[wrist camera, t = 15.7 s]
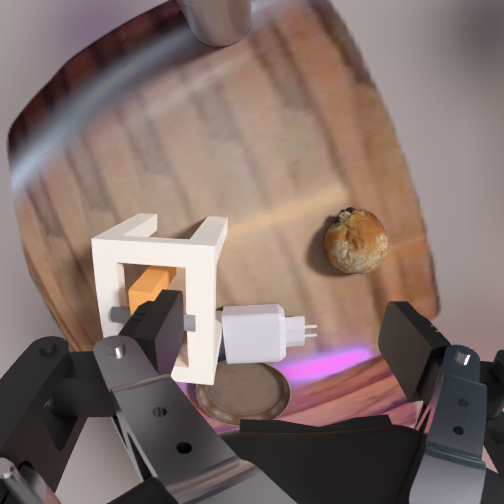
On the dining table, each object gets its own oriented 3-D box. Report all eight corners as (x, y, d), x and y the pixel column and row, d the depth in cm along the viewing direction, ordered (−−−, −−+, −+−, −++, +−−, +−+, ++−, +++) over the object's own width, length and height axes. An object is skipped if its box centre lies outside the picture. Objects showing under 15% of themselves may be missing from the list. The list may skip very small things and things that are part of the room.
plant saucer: (184, 358, 55) (181, 368, 52) (279, 340, 53) (281, 350, 50) (214, 421, 60) (212, 431, 57) (296, 408, 58) (298, 418, 55)
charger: (313, 345, 54) (228, 350, 54) (314, 298, 51) (223, 304, 51) (317, 360, 49) (226, 366, 50) (320, 312, 46) (220, 318, 47)
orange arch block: (157, 257, 39) (128, 290, 29) (176, 258, 39) (151, 292, 29) (161, 325, 42) (138, 369, 32) (178, 326, 42) (159, 372, 32)
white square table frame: (139, 213, 47) (87, 241, 31) (227, 217, 47) (213, 248, 31) (144, 316, 52) (107, 375, 36) (223, 324, 52) (212, 390, 36)
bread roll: (317, 253, 52) (325, 289, 46) (324, 201, 46) (335, 235, 40) (372, 251, 52) (385, 285, 46) (385, 202, 45) (403, 234, 39)
